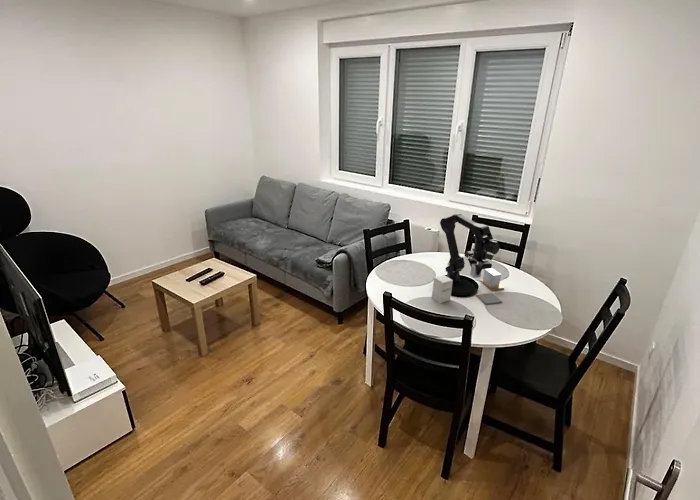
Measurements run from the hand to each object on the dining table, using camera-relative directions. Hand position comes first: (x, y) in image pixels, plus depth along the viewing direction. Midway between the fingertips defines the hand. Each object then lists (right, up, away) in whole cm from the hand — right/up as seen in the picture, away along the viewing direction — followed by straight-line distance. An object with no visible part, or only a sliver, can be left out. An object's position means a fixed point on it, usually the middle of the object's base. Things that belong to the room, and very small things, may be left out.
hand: (475, 273), depth 215 cm
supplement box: (-21, -14, -4) cm, 25 cm away
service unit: (+13, -8, +11) cm, 19 cm away
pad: (+6, -14, -4) cm, 16 cm away
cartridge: (0, -1, +1) cm, 2 cm away
